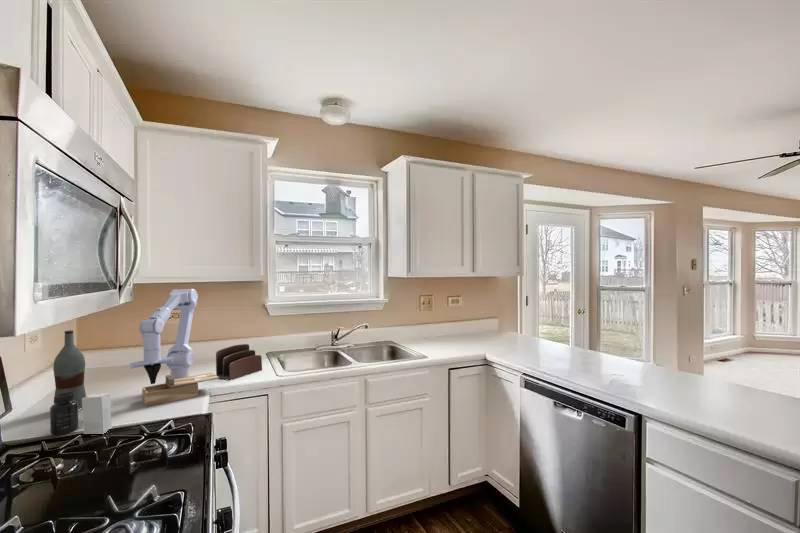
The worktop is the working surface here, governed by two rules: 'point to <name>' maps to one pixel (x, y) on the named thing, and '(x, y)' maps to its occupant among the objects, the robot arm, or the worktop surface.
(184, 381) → the mailer lid
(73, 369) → the vodka
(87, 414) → the skincare box
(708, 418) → the worktop surface
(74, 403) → the supplement bottle
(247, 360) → the letter holder
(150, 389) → the box
